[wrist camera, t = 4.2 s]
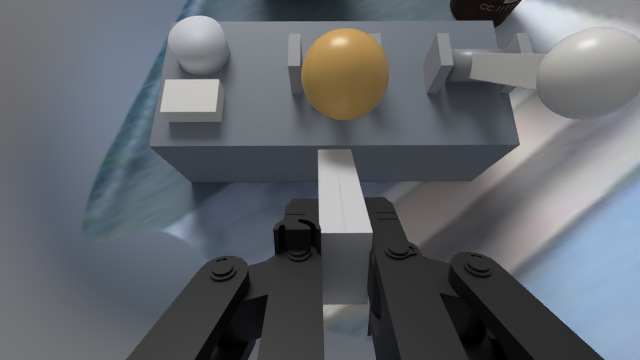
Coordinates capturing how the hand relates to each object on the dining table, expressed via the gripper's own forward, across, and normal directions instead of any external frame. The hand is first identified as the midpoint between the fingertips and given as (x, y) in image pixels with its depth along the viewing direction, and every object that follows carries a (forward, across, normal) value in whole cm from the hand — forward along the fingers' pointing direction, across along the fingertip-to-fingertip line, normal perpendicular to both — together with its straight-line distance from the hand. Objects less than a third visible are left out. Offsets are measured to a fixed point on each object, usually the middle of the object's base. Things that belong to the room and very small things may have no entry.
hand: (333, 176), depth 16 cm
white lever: (+12, +11, +4) cm, 16 cm away
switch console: (+17, 0, -3) cm, 18 cm away
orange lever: (+12, +1, +4) cm, 12 cm away
